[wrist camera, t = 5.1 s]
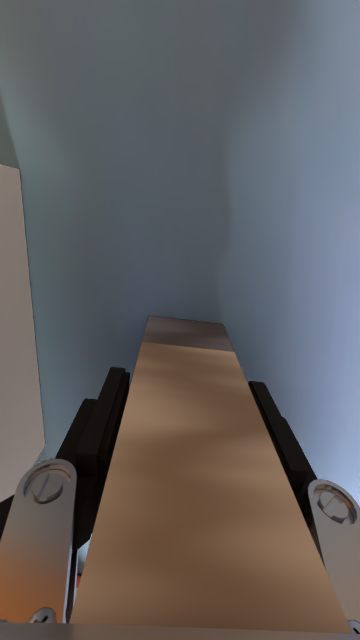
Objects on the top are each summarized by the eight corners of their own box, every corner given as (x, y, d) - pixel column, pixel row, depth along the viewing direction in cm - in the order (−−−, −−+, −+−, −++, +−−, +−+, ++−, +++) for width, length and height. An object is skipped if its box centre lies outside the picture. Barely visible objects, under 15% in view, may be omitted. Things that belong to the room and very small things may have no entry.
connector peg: (222, 324, 14) (403, 757, 3) (209, 384, 15) (296, 819, 4) (148, 315, 14) (35, 755, 3) (142, 378, 15) (56, 822, 4)
